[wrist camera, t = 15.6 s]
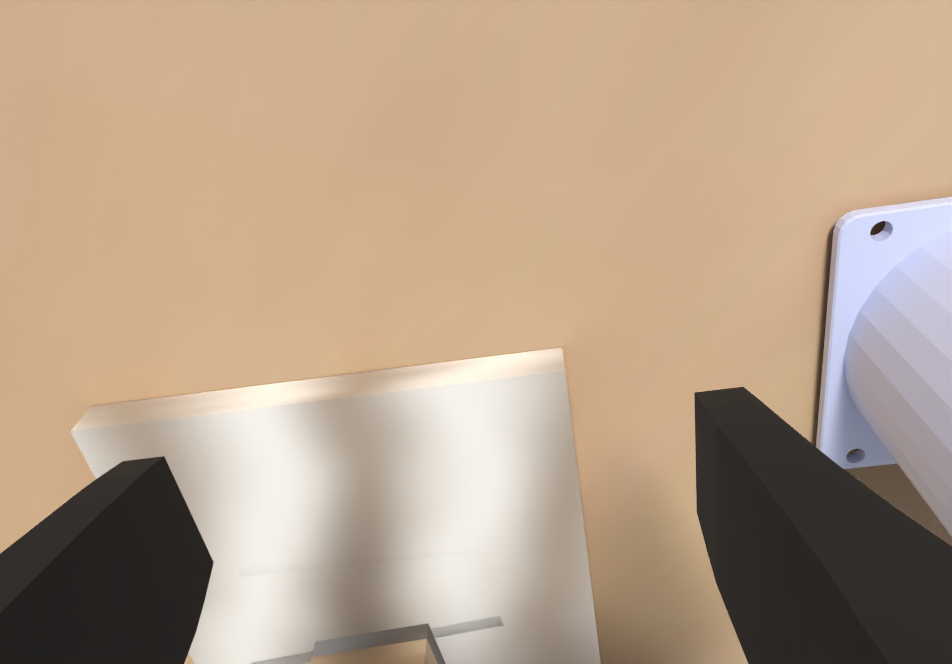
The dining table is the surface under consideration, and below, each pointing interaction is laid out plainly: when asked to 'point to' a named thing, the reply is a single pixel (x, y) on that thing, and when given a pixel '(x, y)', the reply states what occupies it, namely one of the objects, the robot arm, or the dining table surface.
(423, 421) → the board
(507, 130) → the dining table surface
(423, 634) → the block
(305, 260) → the dining table surface
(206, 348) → the dining table surface
